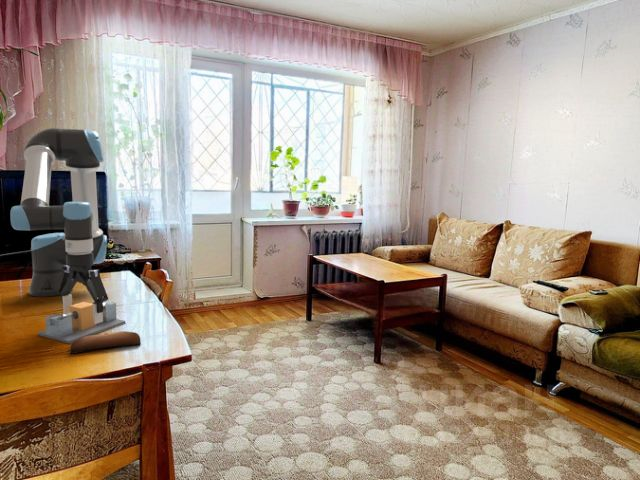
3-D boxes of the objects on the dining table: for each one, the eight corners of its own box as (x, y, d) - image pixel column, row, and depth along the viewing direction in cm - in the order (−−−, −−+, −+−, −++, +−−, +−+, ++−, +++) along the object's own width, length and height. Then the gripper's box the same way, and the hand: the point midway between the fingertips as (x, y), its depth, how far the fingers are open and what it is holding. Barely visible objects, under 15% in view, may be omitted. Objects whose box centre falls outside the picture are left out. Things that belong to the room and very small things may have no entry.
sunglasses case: (138, 335, 138) (138, 320, 134) (140, 353, 134) (141, 339, 130) (71, 343, 131) (69, 328, 127) (71, 363, 126) (69, 348, 122)
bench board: (38, 334, 136) (37, 332, 136) (95, 316, 154) (95, 314, 154) (69, 343, 131) (69, 341, 130) (125, 323, 149) (125, 320, 148)
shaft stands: (46, 334, 135) (45, 316, 134) (103, 316, 153) (103, 299, 152) (60, 338, 132) (58, 319, 131) (116, 318, 150) (115, 302, 149)
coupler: (70, 327, 141) (69, 305, 140) (85, 322, 146) (84, 301, 145) (81, 330, 139) (80, 308, 138) (96, 325, 144) (95, 304, 143)
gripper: (41, 249, 140) (45, 315, 144) (97, 259, 130) (100, 329, 134) (63, 246, 147) (67, 309, 151) (119, 254, 137) (121, 322, 140)
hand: (83, 318), depth 142 cm, fingers open, 13 cm apart
